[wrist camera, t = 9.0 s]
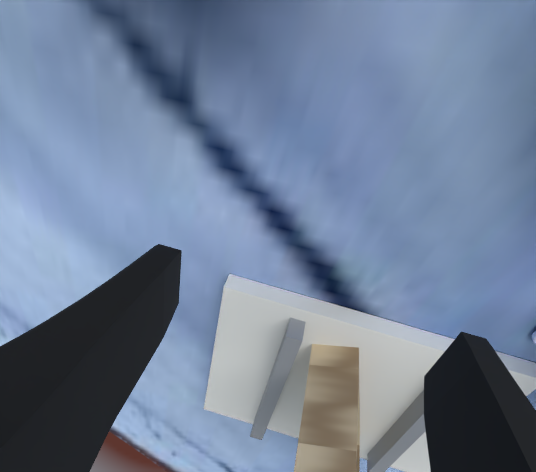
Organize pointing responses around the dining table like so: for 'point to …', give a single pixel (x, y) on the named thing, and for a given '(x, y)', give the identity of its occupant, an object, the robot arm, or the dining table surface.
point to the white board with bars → (297, 364)
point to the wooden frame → (330, 412)
